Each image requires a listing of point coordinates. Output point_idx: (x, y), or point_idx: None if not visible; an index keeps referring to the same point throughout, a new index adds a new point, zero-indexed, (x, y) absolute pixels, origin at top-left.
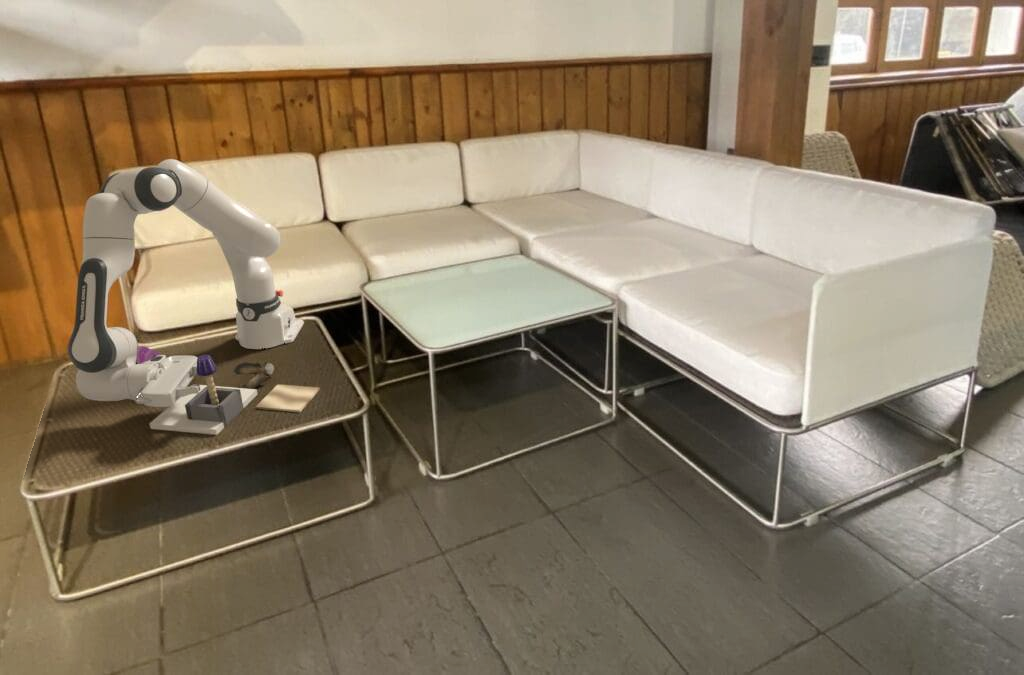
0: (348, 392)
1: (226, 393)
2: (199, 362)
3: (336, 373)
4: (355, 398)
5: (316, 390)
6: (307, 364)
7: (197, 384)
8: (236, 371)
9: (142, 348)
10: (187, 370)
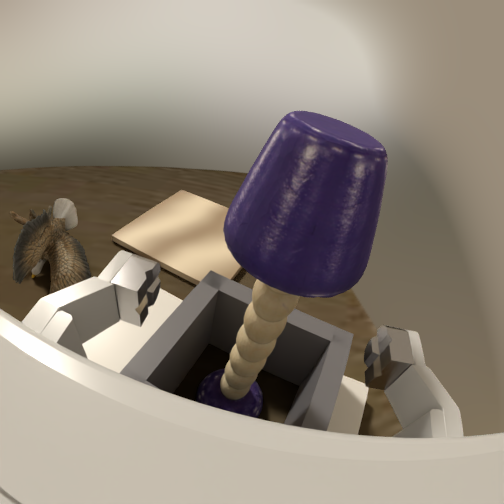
0: (215, 175)
1: (199, 320)
2: (384, 174)
3: (130, 171)
4: (241, 174)
5: (192, 194)
6: (55, 192)
7: (388, 329)
8: (18, 272)
9: None
10: (159, 391)
